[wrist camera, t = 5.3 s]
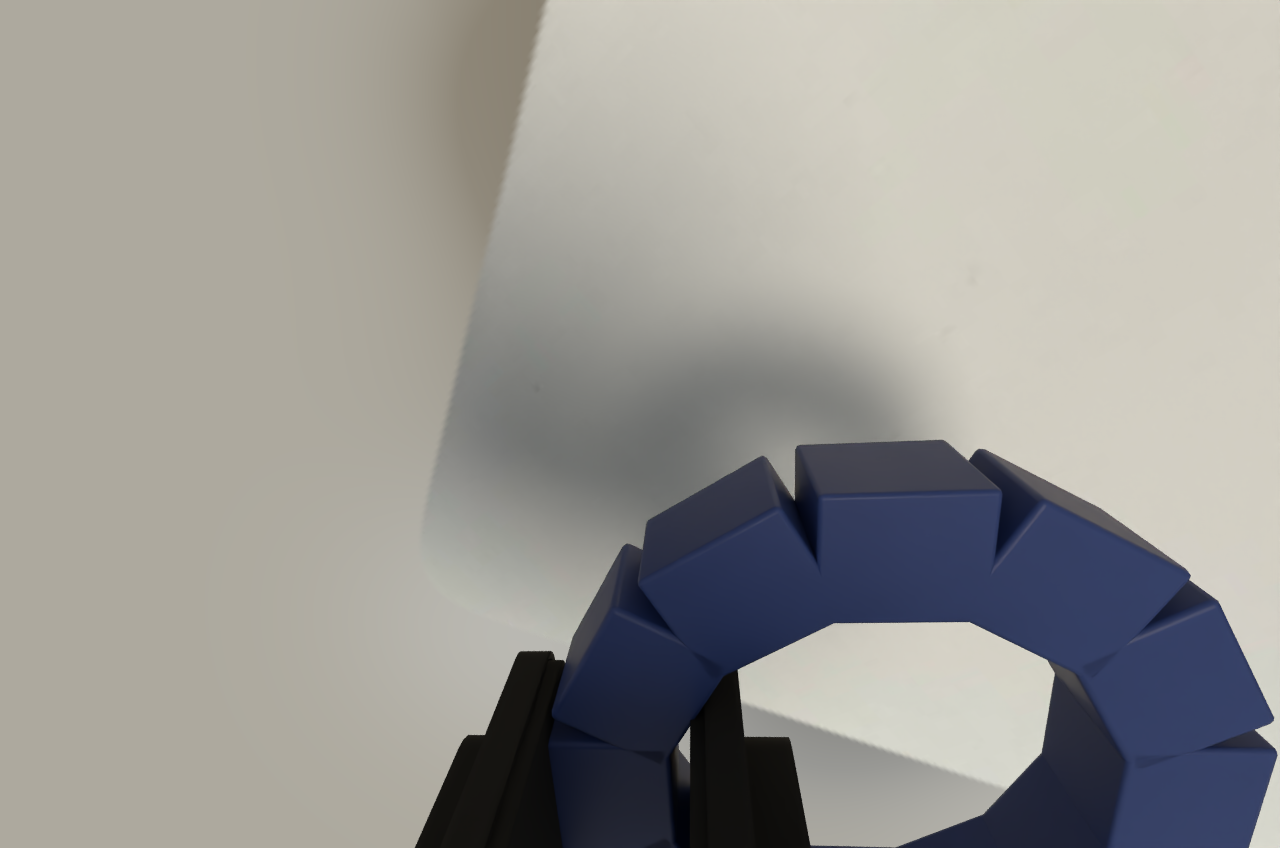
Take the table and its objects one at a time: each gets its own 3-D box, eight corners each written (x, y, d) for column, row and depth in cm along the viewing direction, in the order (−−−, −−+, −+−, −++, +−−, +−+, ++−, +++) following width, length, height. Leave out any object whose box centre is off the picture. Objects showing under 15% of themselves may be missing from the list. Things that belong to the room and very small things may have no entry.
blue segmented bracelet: (598, 905, 12) (582, 1015, 11) (541, 452, 9) (507, 504, 8) (1115, 924, 11) (1189, 1046, 10) (1232, 427, 8) (1368, 480, 7)
